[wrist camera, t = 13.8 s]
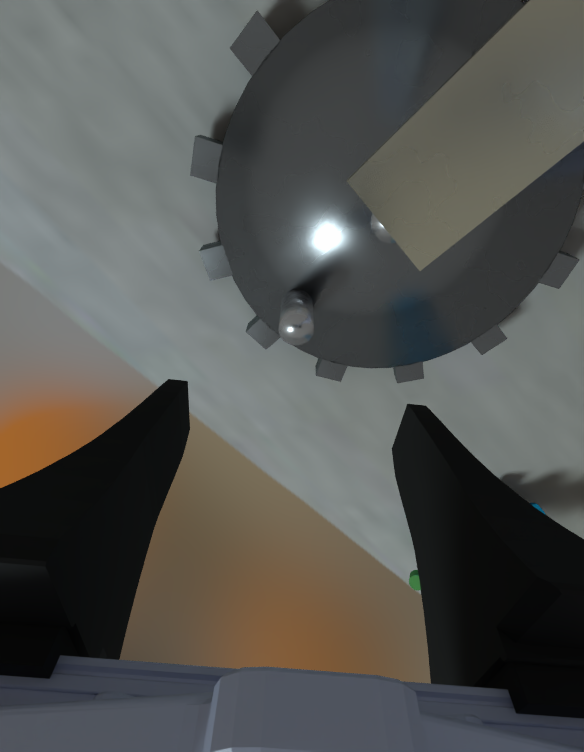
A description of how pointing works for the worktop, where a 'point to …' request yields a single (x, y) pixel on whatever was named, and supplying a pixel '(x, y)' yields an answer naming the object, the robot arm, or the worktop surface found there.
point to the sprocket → (399, 175)
